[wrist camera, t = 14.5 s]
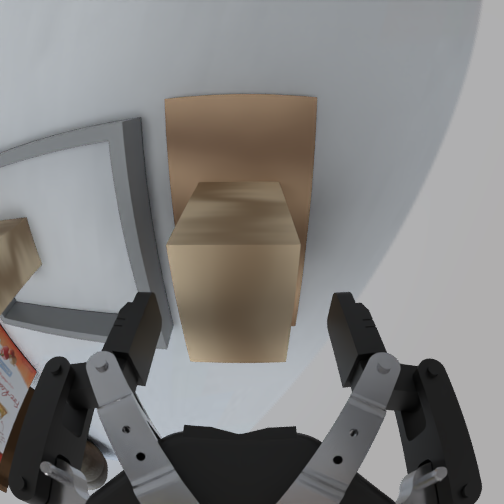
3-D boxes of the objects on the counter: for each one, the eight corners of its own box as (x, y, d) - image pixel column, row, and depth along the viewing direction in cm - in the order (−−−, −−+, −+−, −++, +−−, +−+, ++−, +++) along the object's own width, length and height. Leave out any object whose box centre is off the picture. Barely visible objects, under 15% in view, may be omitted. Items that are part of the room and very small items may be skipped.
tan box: (206, 274, 21) (190, 361, 14) (198, 182, 17) (166, 245, 10) (276, 274, 21) (289, 361, 14) (282, 181, 17) (306, 244, 10)
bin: (-34, 167, 15) (-53, 177, 13) (140, 117, 16) (122, 121, 13) (15, 307, 24) (3, 323, 22) (173, 324, 25) (167, 349, 22)
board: (169, 98, 15) (164, 99, 14) (313, 97, 15) (317, 97, 14) (192, 318, 24) (191, 325, 23) (293, 318, 24) (295, 325, 24)
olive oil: (45, 393, 36) (11, 499, 15) (57, 414, 41) (30, 505, 20) (5, 370, 34) (-34, 466, 13) (20, 394, 39) (-11, 479, 18)
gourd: (93, 462, 55) (77, 503, 39) (27, 412, 49) (3, 451, 33) (129, 452, 49) (111, 507, 33) (45, 390, 43) (11, 441, 27)
